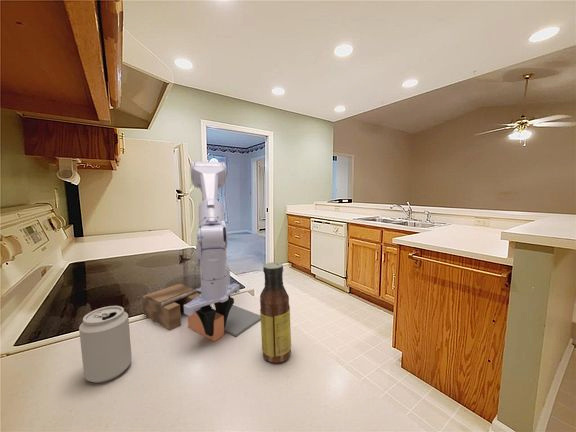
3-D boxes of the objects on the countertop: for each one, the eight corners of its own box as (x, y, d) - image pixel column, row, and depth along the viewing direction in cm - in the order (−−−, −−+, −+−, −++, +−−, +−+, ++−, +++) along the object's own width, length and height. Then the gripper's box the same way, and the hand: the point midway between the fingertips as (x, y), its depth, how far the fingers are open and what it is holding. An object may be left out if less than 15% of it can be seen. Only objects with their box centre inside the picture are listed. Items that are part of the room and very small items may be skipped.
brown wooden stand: (143, 315, 68) (142, 292, 67) (176, 301, 76) (175, 281, 75) (169, 330, 61) (168, 305, 60) (203, 313, 69) (202, 291, 68)
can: (114, 386, 44) (108, 324, 42) (73, 386, 44) (66, 323, 43) (140, 357, 51) (136, 303, 50) (105, 357, 51) (100, 302, 50)
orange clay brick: (188, 327, 62) (187, 308, 62) (198, 322, 65) (197, 304, 64) (214, 341, 57) (213, 321, 56) (224, 335, 59) (223, 315, 59)
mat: (229, 305, 74) (229, 303, 74) (262, 318, 67) (262, 316, 67) (201, 320, 66) (201, 318, 66) (235, 337, 58) (235, 334, 58)
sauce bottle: (292, 346, 55) (292, 260, 53) (289, 366, 49) (290, 270, 47) (263, 344, 56) (262, 259, 53) (257, 363, 50) (256, 269, 47)
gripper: (197, 291, 49) (199, 354, 50) (247, 270, 61) (248, 322, 62) (176, 283, 53) (179, 341, 54) (228, 265, 65) (229, 313, 66)
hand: (215, 330), depth 59 cm, fingers closed on orange clay brick, 3 cm apart
